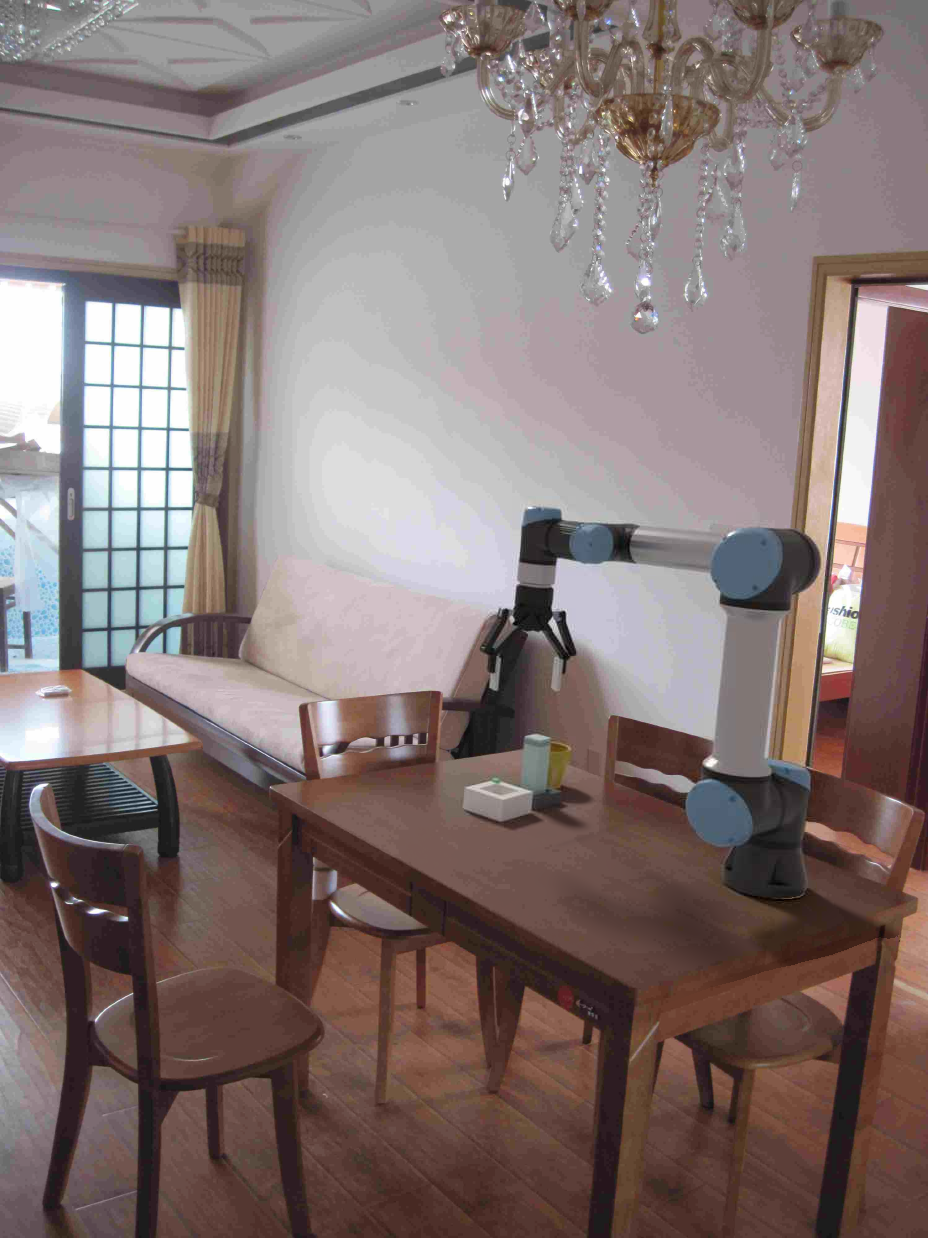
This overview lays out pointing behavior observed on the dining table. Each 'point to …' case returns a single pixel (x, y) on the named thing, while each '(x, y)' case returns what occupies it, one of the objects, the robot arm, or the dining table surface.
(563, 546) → the robot arm
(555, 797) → the dark grey square tray
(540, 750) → the plug
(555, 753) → the plant pot
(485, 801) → the box
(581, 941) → the dining table surface
